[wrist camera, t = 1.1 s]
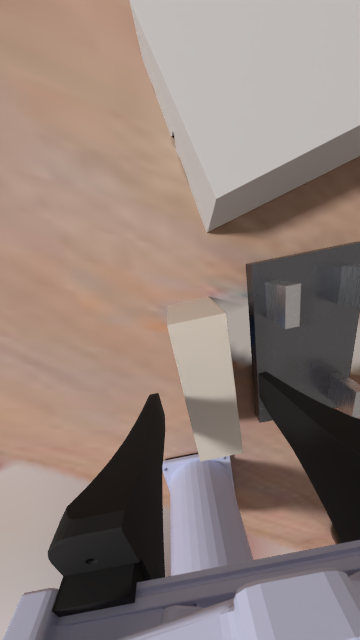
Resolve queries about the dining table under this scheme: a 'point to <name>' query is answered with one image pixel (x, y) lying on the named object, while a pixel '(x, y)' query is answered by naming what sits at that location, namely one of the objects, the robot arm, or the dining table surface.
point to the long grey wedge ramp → (253, 93)
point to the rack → (307, 324)
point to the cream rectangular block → (206, 375)
